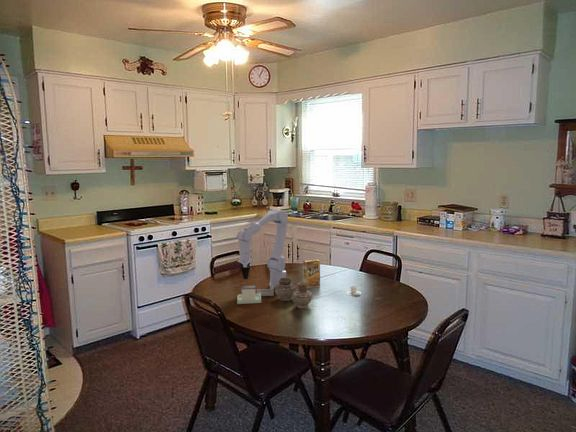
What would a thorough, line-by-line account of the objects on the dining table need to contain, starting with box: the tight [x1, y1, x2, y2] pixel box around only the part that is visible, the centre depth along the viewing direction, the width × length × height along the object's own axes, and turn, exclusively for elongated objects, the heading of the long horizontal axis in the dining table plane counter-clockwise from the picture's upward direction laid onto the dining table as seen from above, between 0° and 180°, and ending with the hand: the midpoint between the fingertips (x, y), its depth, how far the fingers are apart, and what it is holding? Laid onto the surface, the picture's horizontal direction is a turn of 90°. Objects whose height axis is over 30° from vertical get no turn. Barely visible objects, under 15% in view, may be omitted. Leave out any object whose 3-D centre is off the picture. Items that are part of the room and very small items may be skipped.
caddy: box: [240, 285, 257, 300], centre depth 221 cm, size 8×4×7 cm, turn 95°
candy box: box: [302, 258, 321, 289], centre depth 242 cm, size 9×4×15 cm, turn 113°
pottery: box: [274, 277, 314, 309], centre depth 217 cm, size 11×25×12 cm, turn 38°
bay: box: [256, 285, 275, 297], centre depth 231 cm, size 9×7×4 cm
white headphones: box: [345, 285, 362, 297], centre depth 230 cm, size 9×8×4 cm
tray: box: [236, 293, 262, 305], centre depth 222 cm, size 12×9×2 cm
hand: (245, 276), depth 230 cm, fingers open, 7 cm apart
